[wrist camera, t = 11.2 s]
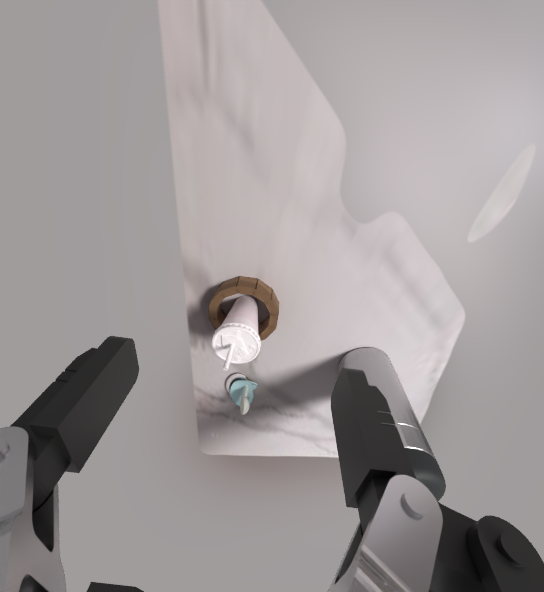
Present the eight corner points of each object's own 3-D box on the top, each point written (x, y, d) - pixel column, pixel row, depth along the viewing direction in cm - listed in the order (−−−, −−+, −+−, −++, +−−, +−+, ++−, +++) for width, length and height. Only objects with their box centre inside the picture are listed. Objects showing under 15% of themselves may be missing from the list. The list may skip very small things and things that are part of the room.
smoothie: (245, 281, 40) (226, 341, 28) (274, 307, 42) (268, 374, 30) (218, 304, 43) (190, 369, 31) (246, 328, 45) (231, 397, 33)
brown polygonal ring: (291, 302, 42) (291, 313, 39) (253, 341, 46) (251, 353, 44) (237, 264, 39) (233, 272, 36) (202, 309, 43) (196, 320, 41)
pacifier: (223, 391, 54) (252, 398, 54) (215, 419, 49) (247, 427, 49) (230, 367, 50) (260, 374, 51) (222, 394, 45) (256, 402, 45)
